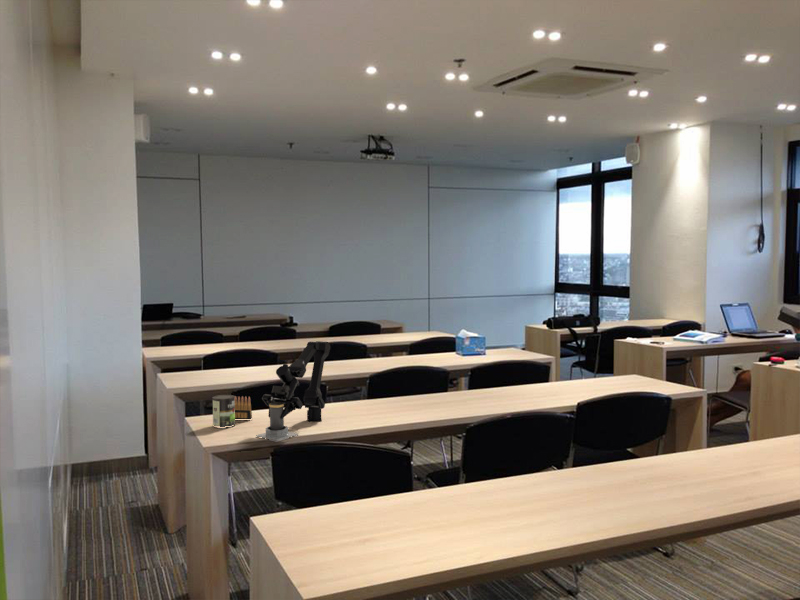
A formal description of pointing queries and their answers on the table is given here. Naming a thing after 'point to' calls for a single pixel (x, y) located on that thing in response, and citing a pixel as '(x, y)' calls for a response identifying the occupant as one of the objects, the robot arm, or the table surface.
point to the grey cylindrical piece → (276, 416)
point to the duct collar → (277, 434)
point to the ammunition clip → (243, 408)
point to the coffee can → (223, 410)
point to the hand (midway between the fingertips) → (275, 417)
